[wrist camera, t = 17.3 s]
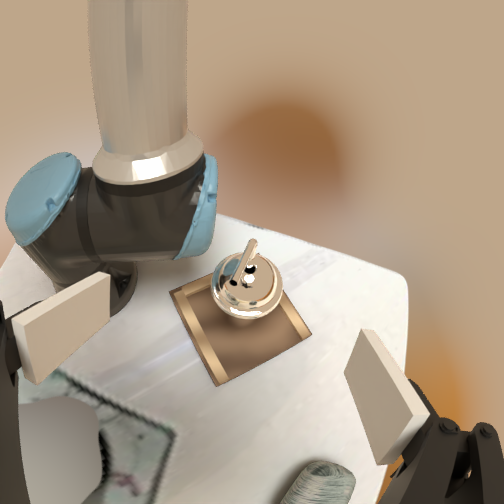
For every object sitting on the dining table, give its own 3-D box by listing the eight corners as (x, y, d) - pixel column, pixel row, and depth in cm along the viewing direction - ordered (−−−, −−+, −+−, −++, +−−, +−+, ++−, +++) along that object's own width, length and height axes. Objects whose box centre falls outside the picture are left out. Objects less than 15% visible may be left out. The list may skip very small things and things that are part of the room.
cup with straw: (281, 316, 42) (322, 239, 25) (236, 355, 38) (249, 301, 21) (243, 278, 45) (258, 184, 28) (198, 312, 41) (182, 230, 24)
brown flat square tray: (170, 294, 43) (168, 289, 41) (257, 256, 49) (259, 250, 47) (216, 386, 36) (216, 385, 35) (309, 336, 42) (313, 332, 40)
